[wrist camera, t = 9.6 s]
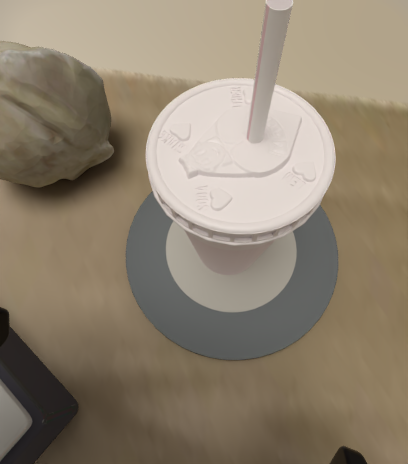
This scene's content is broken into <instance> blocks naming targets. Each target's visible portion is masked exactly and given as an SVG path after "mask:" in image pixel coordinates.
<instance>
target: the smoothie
mask: <svg viewBox="0 0 408 464" xmlns="http://www.w3.org/2000/svg"><path fill="white" fill-rule="evenodd" d="M292 5H293V0H266V4H265V11H264V18H263V25H262V32H261V39H260V46H259V53H258V60H257V66H256V74H255V79H249V78H229V79H222V80H215V81H212V82H207V83H204V84H201V85H198V86H196V87H194V88H192V89H190V90H188V91H186V92H184V93H183V94H181V95H179V96H178V97H177V98H175V99H174V100H173V101H172V102H170V103H169V104H168V105H167V106H166V107H165V108H164V109H163V111H162V112H161V113H160V114H159V116H158V117H157V119H156V120H155V122H154V124H153V126H152V128H151V130H150V133H149V136H148V140H147V145H146V163H147V169H148V173H149V180H150V184H151V187H152V190H153V194H154V197H155V198H156V200H157V201H158V203H159V204H160V206H161V207H162V209H163V210H164V212H165V213H166V215H167V216H168V217H170V218H171V219H172V220H173V221H174V222H176V223H177V224H178V225H179V226H180V227H181V228H183V229H184V231H185V232H186V234H187V236H188V238H189V239H190V241H191V243H192V245H193V246H194V248H195V250H196V252H197V253H198V255H199V257H200V259H201V260H202V262H203V263H204V264H205V266H206V267H208V268H209V269H210V270H212V271H213V272H216V273H218V274H222V275H234V274H238V273H241V272H243V271H245V270H246V269H247V268H249V267H250V266H251V265H252V264H253V263H254V261H255V260H256V259H257V258H258V257H259V256H260V255H261V254H262V253H263V252H264V251H265V250H266V249H267V248H268V247H269V246H270V245H271V244H272V243H273V242H274V241H275V240H276V239H278V238H281V237H284V236H286V235H287V234H289V233H290V232H292V231H294V230H295V229H297V228H298V227H300V226H301V225H303V224H304V223H305V222H306V221H307V220H308V219H309V217H310V216H311V215H312V214H313V213H314V212H315V210H316V209H317V208H318V207H319V205H320V203H321V200H322V198H323V196H324V194H325V192H326V191H327V189H328V187H329V185H330V182H331V180H332V177H333V173H334V168H335V147H334V142H333V139H332V136H331V133H330V131H329V129H328V127H327V125H326V123H325V121H324V120H323V119H322V117H321V116H320V114H319V113H318V112H317V111H316V110H315V109H314V108H313V107H312V106H311V105H310V104H309V103H308V102H307V101H305V100H304V99H303V98H301V97H300V96H298V95H297V94H295V93H294V92H292V91H290V90H288V89H286V88H284V87H282V86H279V85H276V84H275V81H276V77H277V73H278V68H279V64H280V59H281V55H282V50H283V46H284V41H285V37H286V32H287V27H288V23H289V19H290V14H291V10H292Z"/></svg>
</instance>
